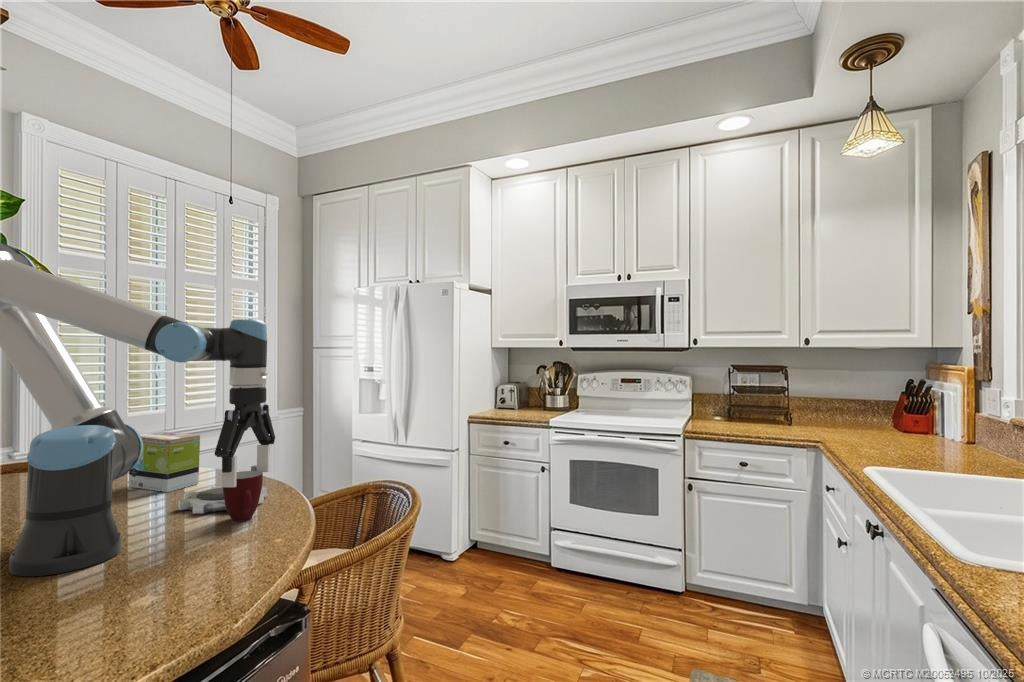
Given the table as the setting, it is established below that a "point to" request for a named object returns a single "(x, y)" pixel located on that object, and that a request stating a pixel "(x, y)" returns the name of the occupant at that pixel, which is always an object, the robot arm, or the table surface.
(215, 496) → the sprocket
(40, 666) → the table surface
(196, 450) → the tea box
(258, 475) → the mug
